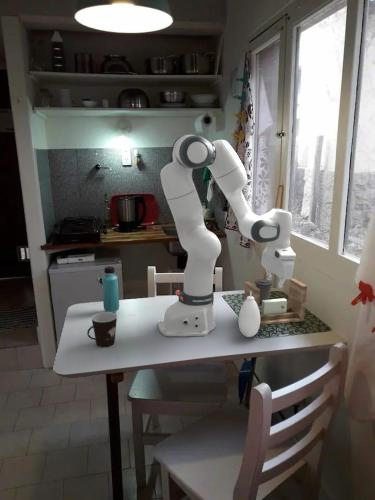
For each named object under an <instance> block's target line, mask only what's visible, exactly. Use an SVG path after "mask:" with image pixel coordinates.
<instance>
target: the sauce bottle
mask: <svg viewBox="0 0 375 500" xmlns="http://www.w3.org/2000/svg"><path fill="white" fill-rule="evenodd" d="M259 311H260V307H259V308H258V305H257V303H256V301H255V300H254V297H253V296H251V292H250V296H248V297H247V299H246V300H245V302H244V301H243V304H242V305H241V307H240V310H239V314H238V326H239V330H240V332H241V334H242V335H243V336H245V337H246V338H251V337H253V336H256V335H257V333H258V332H259V330H260V327H261V326H260V312H259Z"/></svg>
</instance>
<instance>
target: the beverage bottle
mask: <svg viewBox="0 0 375 500" xmlns="http://www.w3.org/2000/svg"><path fill="white" fill-rule="evenodd" d="M103 272H104V274H105V275H103V277H102V278H101V279H102V296H103V297H102V299H103V300H102V302H103V310H104V312H112V313H115V312H118V311H119V310H120V298H119V283H118V282H119V281H118V280H119V279H118V277H119V276H117V275H116V274H115V267H114V266H106V267H104V271H103Z"/></svg>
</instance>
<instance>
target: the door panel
mask: <svg viewBox="0 0 375 500" xmlns="http://www.w3.org/2000/svg"><path fill="white" fill-rule="evenodd" d="M287 308H288V299H286V298H274V299H269V300H262V303H261V309H260V310H261V316H262V315H272V314H282V313H286V310H287Z"/></svg>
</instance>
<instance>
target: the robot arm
mask: <svg viewBox="0 0 375 500" xmlns="http://www.w3.org/2000/svg"><path fill="white" fill-rule="evenodd" d="M171 148H172V149H171V155H170V162H169V163H167V164H166V165H165V166H164V167H163V168H161V171H160V182H161V187H162V190H163V193H164V195H165V199H166V201H167V204H168V207H169V209H170V212H171V215H172V218H173V221H174V224H175V229H176V233H177V235H178V240H179V243H180V245H181V247H182V248H183V250H184V251H186V253H187V261H186V266H185V269H184V271H183V290H182V291H180V290H179V289H177V290H176V291H175V292H174V293H175V295H176V297H178V300H177V301H175V302H174V303H172V304H171V305H170V306H168V307H167V308H166V309H165V312H164V315H163V318H161V319H159V321H158V323H157V327H158V330H159V333H161V334H162V335H163V336H165V337H205V336H207V335H209V333H210V332H211V331H213V330H215V328H216V327H217V326H216V325H217V324H216V321H215V317H214V309H213V307H214V301H215V297H214V295H215V294H214V289H213V283H214V272H215V271H214V270H215V266H216V262H217V259H218V257H219V256H220V254H221V251H222V244H221V242H220V240H219V238H218V236H217V235H216V234H215V233H214V232H212V231H211V230H209V229H207V227H206V225H205V221H204V215H203V211H204V210H203V209H204V207H203V205H202V202H201V200H200V197H199V194H198V191H197V188H196V186H195V183H194V181H193V170H194V169H195V170H196V169H201V168H204V167H207V169H208V170H209V171H210V173H211V174H212V177H213V179H214V181H215V182H216V184H217V185H218V188H219V189H220V190H221V191H222V193H223V195H224V196H225V199H226V200H227V203H228V206H229V207H230V209H231V210H232V213H233V215H234V218H235V224H236V225H235V226H236V231H237V232H238V233H239V235H240V236H242V237H243V238H246V239H248V240H251V241H253V242H255V243H259V244H262V243H266V246H265V247H264V249H263V250H262V255H261V259H260V261H261V262H260V264H261V267H263V268H264V269H265V274H266V275H265V276H266V280H270V281H272V279H273V276H272V274H274V275H275V276H277V277H278V282H277V283H276V287H277V288H279V289H283V288H284V283H285V282H286V280H289V281H290V279H291V278H293V275H294V269H295V260H296V259H297V258H296V257H297V254H296V253H295V252H294V251H293V249H292V247H291V235H292V232H293V214H292V212H290V210H286V209H283V208H278V207H273V208H272V209H271V210H270V211H268V212H266V213H265V214H262V215H257V214H256V213H254V212H253V211H251V209H250V206H249V205H248V203H247V201H246V198H245V196H244V193H243V190H244V188H245V187H246V185H247V183H248V175H247V172H246V169H245V167H244V165H243V162H242V161H241V159H240V158H239V156H238V154H237V152H236V151H235V150H234V148H233V147H232V146H231V144H230V143H229V142H228V141H227V140H224V139H217V140H214V141H212V142H211V141H209V139H206V138H204V137H203V136H201V135H195V134H185V135H182V136H179V137H178V138H177V139H175V141H174V143H173V145H172V147H171Z"/></svg>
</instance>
